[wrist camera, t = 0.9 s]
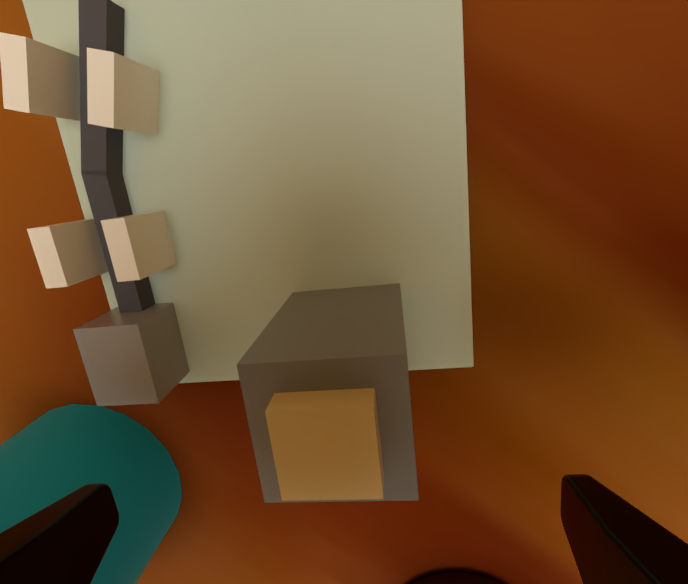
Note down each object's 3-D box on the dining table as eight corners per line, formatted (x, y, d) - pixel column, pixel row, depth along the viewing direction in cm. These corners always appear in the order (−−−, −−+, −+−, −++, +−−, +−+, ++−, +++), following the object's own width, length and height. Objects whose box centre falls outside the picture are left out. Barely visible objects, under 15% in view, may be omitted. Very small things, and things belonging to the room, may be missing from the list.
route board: (440, -515, 10) (444, -557, 9) (470, 359, 16) (473, 366, 16) (-62, -349, 12) (-85, -375, 11) (140, 379, 18) (132, 386, 17)
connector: (399, 283, 15) (408, 370, 8) (408, 382, 16) (421, 527, 10) (292, 292, 15) (223, 381, 9) (307, 387, 17) (255, 528, 10)
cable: (122, -1, 13) (104, -12, 12) (191, 303, 16) (180, 310, 15) (55, 12, 14) (33, 2, 13) (134, 307, 16) (121, 315, 15)
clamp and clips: (152, 39, 13) (104, 12, 11) (223, 369, 17) (197, 401, 14) (34, 59, 14) (-35, 38, 12) (124, 375, 17) (84, 406, 15)
